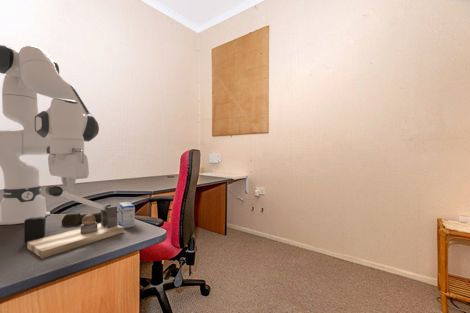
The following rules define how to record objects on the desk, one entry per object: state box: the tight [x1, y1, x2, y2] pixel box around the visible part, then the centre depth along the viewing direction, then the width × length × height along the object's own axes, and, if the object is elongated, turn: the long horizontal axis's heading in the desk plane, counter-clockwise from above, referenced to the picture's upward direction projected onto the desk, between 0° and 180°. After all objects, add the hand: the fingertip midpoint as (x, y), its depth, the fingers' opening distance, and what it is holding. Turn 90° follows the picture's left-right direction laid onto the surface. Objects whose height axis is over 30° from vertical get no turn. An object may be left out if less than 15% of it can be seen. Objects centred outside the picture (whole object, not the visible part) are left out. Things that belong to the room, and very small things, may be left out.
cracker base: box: [26, 203, 124, 259], centre depth 77 cm, size 12×24×10 cm, turn 147°
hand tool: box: [61, 211, 101, 226], centre depth 96 cm, size 19×4×5 cm, turn 117°
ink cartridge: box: [23, 216, 46, 245], centre depth 75 cm, size 5×2×8 cm, turn 120°
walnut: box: [81, 213, 97, 225], centre depth 79 cm, size 4×4×4 cm
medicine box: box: [117, 201, 136, 229], centre depth 92 cm, size 8×4×9 cm, turn 40°
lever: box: [45, 185, 107, 212], centre depth 78 cm, size 4×22×3 cm, turn 147°
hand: (68, 190), depth 74 cm, fingers closed
